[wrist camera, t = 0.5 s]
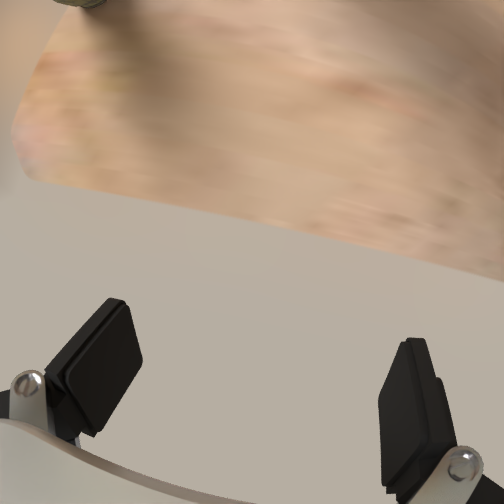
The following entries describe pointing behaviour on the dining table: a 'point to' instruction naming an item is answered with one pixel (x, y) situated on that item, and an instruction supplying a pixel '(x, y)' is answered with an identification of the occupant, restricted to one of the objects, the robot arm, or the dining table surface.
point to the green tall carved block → (81, 3)
